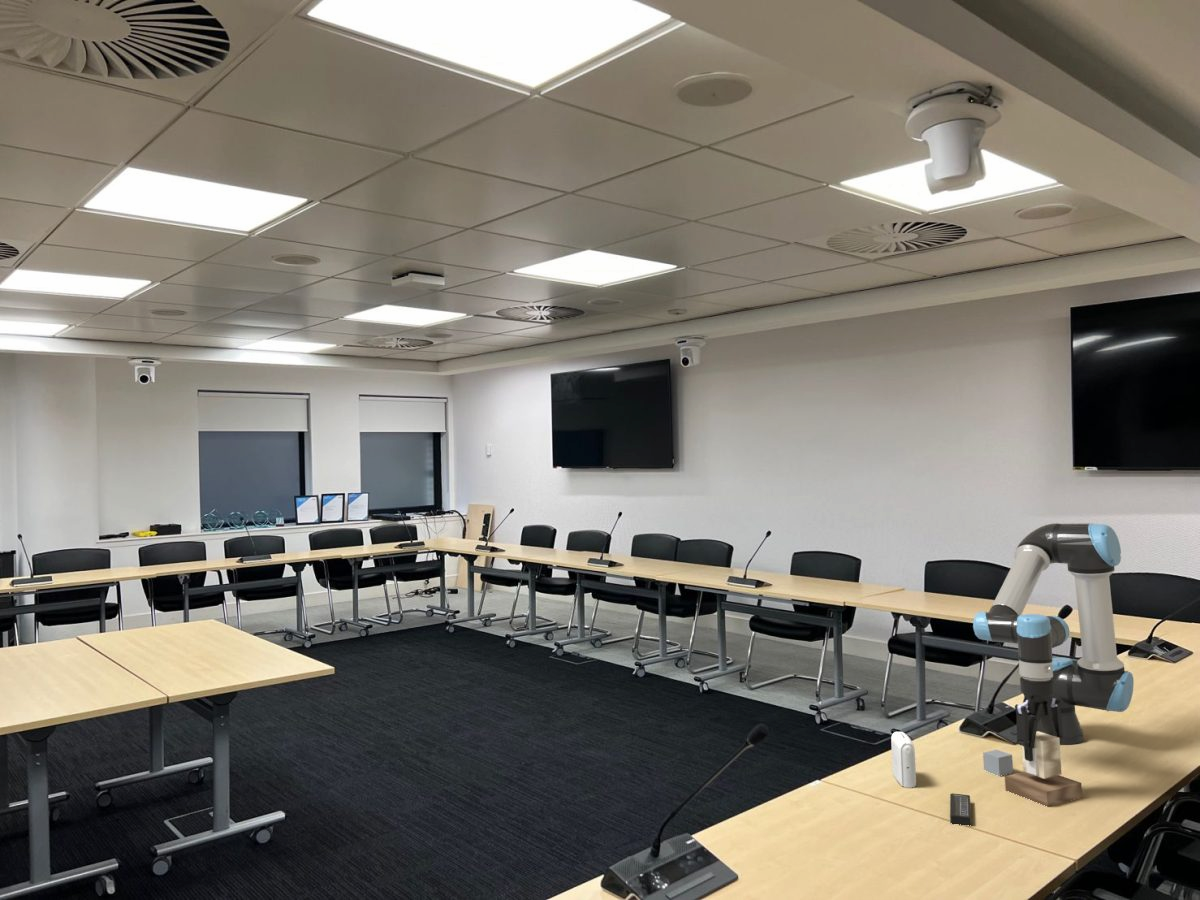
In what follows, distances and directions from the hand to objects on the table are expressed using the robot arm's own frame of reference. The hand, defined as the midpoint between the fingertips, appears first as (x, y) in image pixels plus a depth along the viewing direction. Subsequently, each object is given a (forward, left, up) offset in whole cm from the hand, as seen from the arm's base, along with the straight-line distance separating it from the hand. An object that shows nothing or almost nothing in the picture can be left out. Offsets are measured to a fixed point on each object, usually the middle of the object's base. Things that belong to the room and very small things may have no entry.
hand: (1042, 770), depth 206 cm
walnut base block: (0, 0, -6) cm, 6 cm away
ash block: (0, 0, 0) cm, 0 cm away
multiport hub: (+27, -1, -6) cm, 27 cm away
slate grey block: (-3, -16, -6) cm, 17 cm away
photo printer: (+23, -23, -6) cm, 33 cm away
